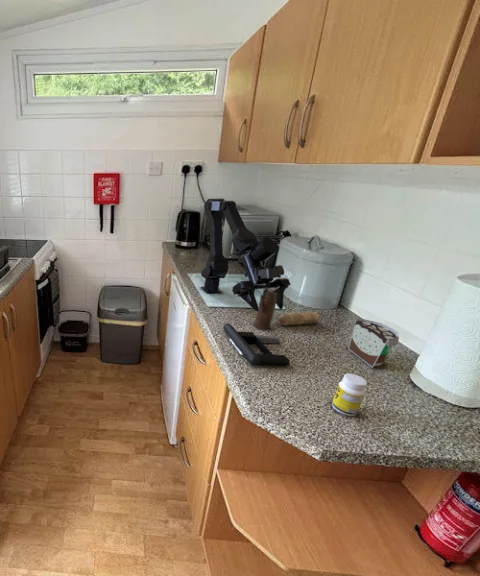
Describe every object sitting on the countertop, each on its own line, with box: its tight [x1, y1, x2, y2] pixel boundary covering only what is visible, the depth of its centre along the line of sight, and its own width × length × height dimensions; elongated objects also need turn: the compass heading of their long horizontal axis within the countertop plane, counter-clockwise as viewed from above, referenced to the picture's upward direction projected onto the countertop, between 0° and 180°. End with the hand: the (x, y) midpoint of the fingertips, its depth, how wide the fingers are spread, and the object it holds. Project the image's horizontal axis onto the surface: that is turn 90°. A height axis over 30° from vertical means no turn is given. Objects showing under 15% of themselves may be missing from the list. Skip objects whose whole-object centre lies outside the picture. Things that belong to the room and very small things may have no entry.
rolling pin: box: [278, 311, 320, 327], centre depth 109 cm, size 15×4×4 cm, turn 100°
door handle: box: [222, 322, 290, 366], centre depth 95 cm, size 3×20×16 cm
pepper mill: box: [253, 288, 277, 331], centre depth 105 cm, size 5×5×14 cm
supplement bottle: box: [331, 373, 368, 417], centre depth 70 cm, size 5×5×8 cm
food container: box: [347, 318, 400, 369], centre depth 89 cm, size 12×6×10 cm, turn 179°
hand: (269, 309), depth 104 cm, fingers open, 9 cm apart
